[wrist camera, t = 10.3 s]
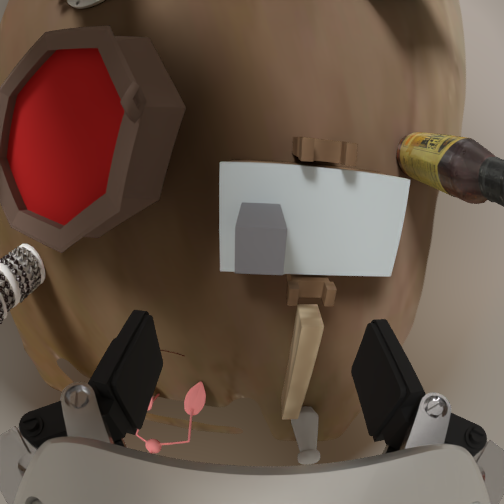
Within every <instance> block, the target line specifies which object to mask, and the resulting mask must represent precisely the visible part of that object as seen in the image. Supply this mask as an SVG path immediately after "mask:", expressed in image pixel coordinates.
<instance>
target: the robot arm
mask: <svg viewBox="0 0 504 504" xmlns="http://www.w3.org/2000/svg"><path fill="white" fill-rule="evenodd" d="M103 1H105V0H67V2H68V4H69V5H71V6H72V7H74V8H78V9H84V8H89V7H92V6H95V5H97V4H99V3H101V2H103ZM162 367H163V359H162V356H161V352H160V348H159V343H158V339H157V335H156V330H155V326H154V321H153V317H152V316H151V315H149V313H148V312H147V311H140V310H134V311H133V312H132V313H131V315H130V317H129V318H128V320H127V321H126V323H125V325H124V326H123V328H122V330H121V331H120V333H119V335H118V336H117V338H115V339H113V341H112V342H111V344H110V346H109V347H108V349H107V351H106V352H105V354H104V356H103V357H102V359H101V361H100V363H99V364H98V366H97V368H96V370H95V371H94V373H93V375H92V377H91V379H90V380H89V382H88V384H86V383H84V382H75V383H72V384H70V385H68V386H67V387H66V388H65V389H64V390H63V392H62V395H61V401H59V402H56V403H53V404H50V405H48V406H45V407H42V408H39V409H36V410H34V411H30V412H28V413H26V414H25V415H24V416H23V417H22V418H21V420H20V423H19V427H18V428H16V426H14V427H13V428H11V429H9V430H8V431H6V432H5V433H3V434H1V435H0V491H1V492H2V494H3V496H4V498H5V500H6V502H7V504H499V502H500V501H501V499H502V497H503V495H504V450H503V449H502V448H500V447H499V446H498V445H496V444H495V443H494V442H493V441H491V440H489V441H488V442H487V437H486V433H485V431H484V429H483V428H482V427H481V426H479V425H477V424H475V423H473V422H470V421H468V420H466V419H464V418H461V417H459V416H457V415H455V414H453V413H451V405H450V403H449V401H448V400H447V398H446V397H444V396H443V395H441V394H439V393H429V394H425V392H424V390H423V388H422V385H421V383H420V381H419V379H418V377H417V375H416V373H415V371H414V370H413V367H412V365H411V363H410V362H409V360H408V358H407V356H406V354H405V352H404V351H403V349H402V347H401V345H400V343H399V341H398V339H397V338H396V336H395V334H394V332H393V330H392V329H391V327H390V325H389V323H388V322H387V320H385V319H380V320H372V322H371V323H369V324H368V325H367V327H366V330H365V333H364V336H363V339H362V342H361V345H360V347H359V350H358V353H357V355H356V358H355V360H354V363H353V366H352V370H351V372H352V377H353V380H354V383H355V387H356V390H357V393H358V397H359V400H360V404H361V407H362V411H363V414H364V418H365V421H366V425H367V429H368V433H369V435H370V436H373V439H374V441H375V442H376V441H381V440H385V443H386V447H385V450H384V451H383V453H382V455H376V456H372V457H367V458H360V459H355V460H348V461H342V462H334V463H327V464H315V465H302V466H281V467H280V466H279V467H278V466H276V467H262V466H259V467H258V466H235V465H221V464H211V463H203V462H195V461H188V460H182V459H176V458H170V457H166V456H160V455H156V454H151V453H147V452H142V451H137V450H134V449H130V448H127V446H126V444H125V442H124V439H123V438H124V437H125V435H126V433H130V434H133V435H136V432H137V429H141V427H142V425H143V422H144V419H145V416H146V413H147V410H148V407H149V404H150V401H151V398H152V395H153V393H154V390H155V387H156V384H157V381H158V378H159V376H160V373H161V370H162Z"/></svg>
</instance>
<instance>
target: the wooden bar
mask: <svg viewBox="0 0 504 504" xmlns="http://www.w3.org/2000/svg"><path fill="white" fill-rule="evenodd" d="M323 329H324V325H323V321H322V318H321V315H320V311H319V308H318V304H297V311H296V317H295V324H294V330H293V336H292V342H291V348H290V354H289V359H288V365H287V370H286V376H285V381H284V386H283V391H282V396H281V409H282V419H298V417H299V414H300V411H301V408H302V404H303V401H304V398H305V395H306V392H307V388H308V385H309V381H310V378H311V375H312V371H313V367H314V364H315V360H316V356H317V353H318V349H319V345H320V341H321V337H322V333H323Z"/></svg>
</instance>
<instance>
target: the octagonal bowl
mask: <svg viewBox="0 0 504 504" xmlns="http://www.w3.org/2000/svg"><path fill="white" fill-rule="evenodd" d="M185 109H186V107H185V105H184V103H183V101H182V99H181V97H180V95H179V93H178V91H177V89H176V88H175V86H174V84H173V82H172V80H171V78H170V76H169V74H168V72H167V70H166V68H165V67H164V65H163V63H162V61H161V59H160V57H159V55H158V53H157V51H156V49H155V48H154V46H153V44H152V42H151V40H150V38H149V37H135V36H114V34H113V32H112V30H111V27H110V26H92V27H79V28H70V29H62V30H55V31H49V32H45V33H44V34H43V35H42V36H41V37H40V38H39V39H38V41H37V42H36V43H35V44H34V45H33V46H32V47H31V48H30V49H29V51H28V52H27V53H26V54H25V55H24V57H23V58H22V59H21V60H20V61H19V63H18V64H17V65H16V66H15V68H14V69H13V70H12V72H11V73H10V74H9V76H8V77H7V78H6V80H5V81H4V83H3V84H2V85H1V87H0V203H1V206H2V208H3V210H4V213H5V215H6V217H7V220H8V222H9V224H10V226H11V228H13V229H15V230H17V231H19V232H21V233H23V234H24V235H26V236H28V237H30V238H32V239H34V240H36V241H38V242H40V243H42V244H44V245H46V246H48V247H50V248H52V249H54V250H56V251H58V252H61V253H62V252H64V251H65V250H66V249H68V248H69V247H70V246H71V245H73V244H74V243H75V242H77V241H78V240H80V239H81V238H82V237H92V238H99V237H100V236H102V235H103V234H105V233H106V232H108V231H109V230H111V229H112V228H114V227H116V226H117V225H119V224H120V223H122V222H123V221H125V220H127V219H128V218H130V217H131V216H133V215H135V214H136V213H138V212H140V211H141V210H143V209H145V208H146V207H148V206H150V205H151V204H153V203H155V202H156V201H158V200H159V199H160V195H161V191H162V187H163V183H164V179H165V175H166V171H167V168H168V164H169V161H170V157H171V154H172V150H173V147H174V143H175V140H176V137H177V134H178V131H179V127H180V124H181V121H182V118H183V115H184V112H185Z"/></svg>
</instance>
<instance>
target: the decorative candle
mask: <svg viewBox="0 0 504 504" xmlns="http://www.w3.org/2000/svg"><path fill="white" fill-rule="evenodd" d="M44 279H45V268H44V264H43V261H42V259H41V257H40V255H39V254H38V252H37V251H36V250H35V249H34V248H33V247H32V246H30V245H29V244H22V245H20V246H18V247H17V249H16V248H15V249H14V250H12V253H11V252H9V255H5V256H3V258H1V259H0V324H2V321H3V319H5V318H6V317H7V312H8V311H9V310H10V309H11V308H13V307H15V306H16V305H17V304H18V303H19V302H20V303H21V302H22V301H23V300H24V298H27V296H28V295H29V293H32V292H33V291H34V290H35V289H36V288H38V286H39V285H40V284H41V283H43V281H44Z"/></svg>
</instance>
